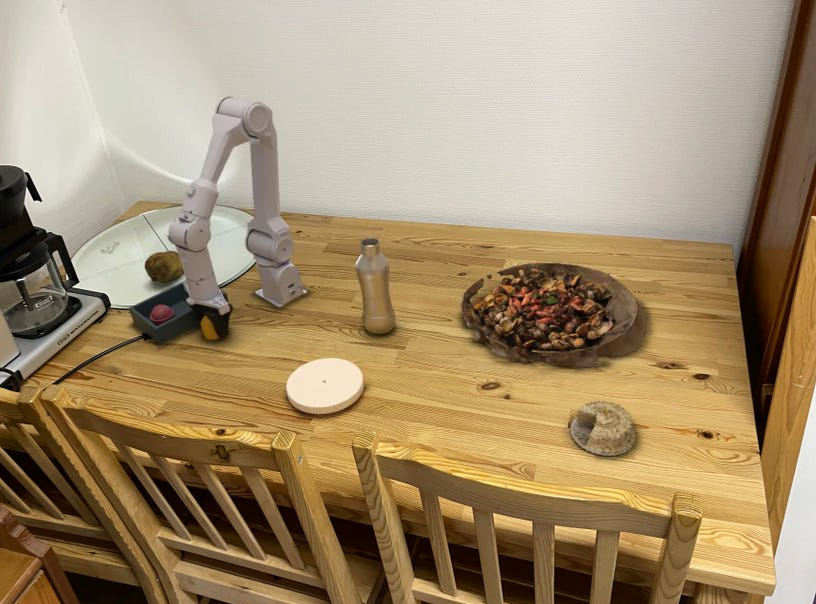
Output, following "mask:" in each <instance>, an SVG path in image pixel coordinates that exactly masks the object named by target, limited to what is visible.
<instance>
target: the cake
mask: <svg viewBox="0 0 816 604" xmlns="http://www.w3.org/2000/svg"><path fill="white" fill-rule="evenodd" d="M569 431H570V434H571V437H572V439H573V440H574V442H576V444H577V445H578V446H579V447H581V448H582V449H584V450H586V451H588V452H590V453H592V454H596V455H599V456H604V457H607V456H608V457H610V456H611V457H612V456H617V455H622V454H625V453H626V452H628V451H630V450H631V448H633V447H634V445H635V442H636V433H635V430H634V424H633V419H632V415H630V412H629V411H627V410H626V409H625V408H624V407H622V406H621V404H617V403H614V402H609V401H607V400H603V401H601V400H596V401H590V402H589V403H588V402H586V403H585V404H584V405H582V406H581V407H580V408H578V409H577V411H576V416H574V418H573V420H572V421H571V424H570V428H569Z"/></svg>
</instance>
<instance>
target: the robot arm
mask: <svg viewBox="0 0 816 604" xmlns="http://www.w3.org/2000/svg"><path fill="white" fill-rule="evenodd" d="M214 111H215V113H213V115H212V117H211V123H212V124H211V125H212V134H211V137H210V141H209V144H208V148H207V152H206V155H205V159H204V162H203V165H202V168H201V172H200V175H199V178H197V179H195V180H193V181H191V182H190V185H189V186H188V187H187V189H186V191H185V194H186V196H185V199H184V201H183V203H182V207H181V209H180V211H179V214H178V217H176V218H175V219H174V220H173V221H172V222H171V223H170V225H169V228H168V235H167V236H166V237H167V240H168V242H170V244H172V245H174V246H175V249H176V252H178V253H179V257H180V260H181V264H182V267H183V274H184V278H185V280H186V282H184V283H183V285H184V289H185V291H186V292H188V294H189V295H188V296H186V297H184V299H183V300H184V301H185V302H186V303H187V304H188V305H189V306H190V308H191V309H192V310H193V312H194V313H195V315H196V317H197V319H198V320H199V322H200V325H201V320H202V319H203V317H204V316H206V317H207V318H208V319H209V320H210V322H211V323H212V325H213V327H214V329H215V332H216V334H217V336H218V337H219V338H218V339H222V338H224V337H226V336H228V335H229V331H230V318H231V313H232V312H233V309H234V308H233V305H232V304H231V303H230V302H229V303H227V302H226V301H225V299H224V297H223V295H222V293H221V291H220V287H219V285H218V281H217V278H216V274H215V270H214V265H213V262H212V258H211V254H210V250H209V246H208V244H209V242H210V241H211V239H212V238H211V237H212V231H211V225H212V224H211V219H212V217H213V213H214V211H215V208H216V205H217V204H218V203H217V202H218V200H219V197H220V194H221V193H220V190H219V188H218V183H219V180H220V178H221V177H222V174H223V172H224V170H225V168H226V165H227V163H228V161H229V159H230V157H231V155H232V152H233V150H234V148H236V147H238V146H240V145H243V144H246V143H248V144H249V150H250V168H251V185H252V187H251V188H252V202H253V203H252V204H253V218H251V219H250V221H248V222H247V224H246V226H247V232H246V235H245V237H244V246H245V249H246V250H247V252H248V253H250V254H252V256H253V259H254V260H255V263H256V268H257V271H258V272H257V273H258V277H259V281H260V282H259V283H260V286H261V288H260V289H258V290H256V291H255V294H256V295H258V296H259V297H261V298H263V299H265V300H266V301H268V302H269V303H271V304H273V305H274V306H276V307H278V308H280V307H283V306H284V305H286V304H288V303H289V302H291V301H293V300H295V299H297V298H299V297H300V296H302V295H304V294H308V291H307V290H306V289H304V285H303V281H302V276H301V271H300V270H299V269H300V268H298V267H297V266H296V265H294V263H293V262H292V260H291V258H292V256H293V253H294V251H295V243H294V239H293V237H292V234H291V228H290V226H289V225H288V224H287V223H286V221H285V219H283V218H282V216H281V204H280V202H281V200H280V178H279V177H280V175H279V153H278V150H279V149H278V134H277V133H278V132H277V130H276V127H275V125H274V121H273V118H274V117H273V110H272V109H271V108H270V107H269V106H268V105H266V104H265V103H264V102H262V101H259V100H258V101H257V100H255V101H253V100H248V99H243V98H237V97H234V96H229V95H227V96H223V97H222V98H221V99H220V100H219V101H218V102H217V104H216V107H215V110H214ZM210 307H212V309H211V310H210Z"/></svg>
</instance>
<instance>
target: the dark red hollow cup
mask: <svg viewBox="0 0 816 604" xmlns="http://www.w3.org/2000/svg"><path fill="white" fill-rule="evenodd" d="M173 318H175V315H174V312H173V310H172V309H170V308H169V307H168V306H166V305H158V306H156V307H154V308H153V310H152V312H151V315H150V319H151V322H152V323H153V324H154V325H156V326H159V325H161V324H163V323H165V322H167V321H169V320H171V319H173Z"/></svg>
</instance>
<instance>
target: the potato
mask: <svg viewBox="0 0 816 604" xmlns="http://www.w3.org/2000/svg"><path fill="white" fill-rule="evenodd" d="M144 270H145V272H146V275H147V276H148V277H149V278H150V280H151V281H152V282H154V283H156V282H160V283H165V282H168V281H171V280H176V279H177V278H179V277H181V275H182V274H184V271H183V267H182V264H181V260H180V257H179V253H178V252H177V250H167V251H164V252H162V251H158V252H154V253H152V254H151V255H149V257H147V258H146V259H145V261H144Z"/></svg>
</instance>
